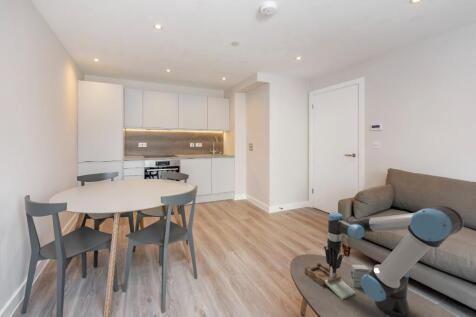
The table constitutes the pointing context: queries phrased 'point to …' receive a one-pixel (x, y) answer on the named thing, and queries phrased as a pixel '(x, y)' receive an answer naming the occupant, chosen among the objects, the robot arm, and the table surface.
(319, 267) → the walnut box
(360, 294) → the table surface
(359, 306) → the table surface
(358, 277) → the ink box
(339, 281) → the lid
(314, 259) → the table surface
